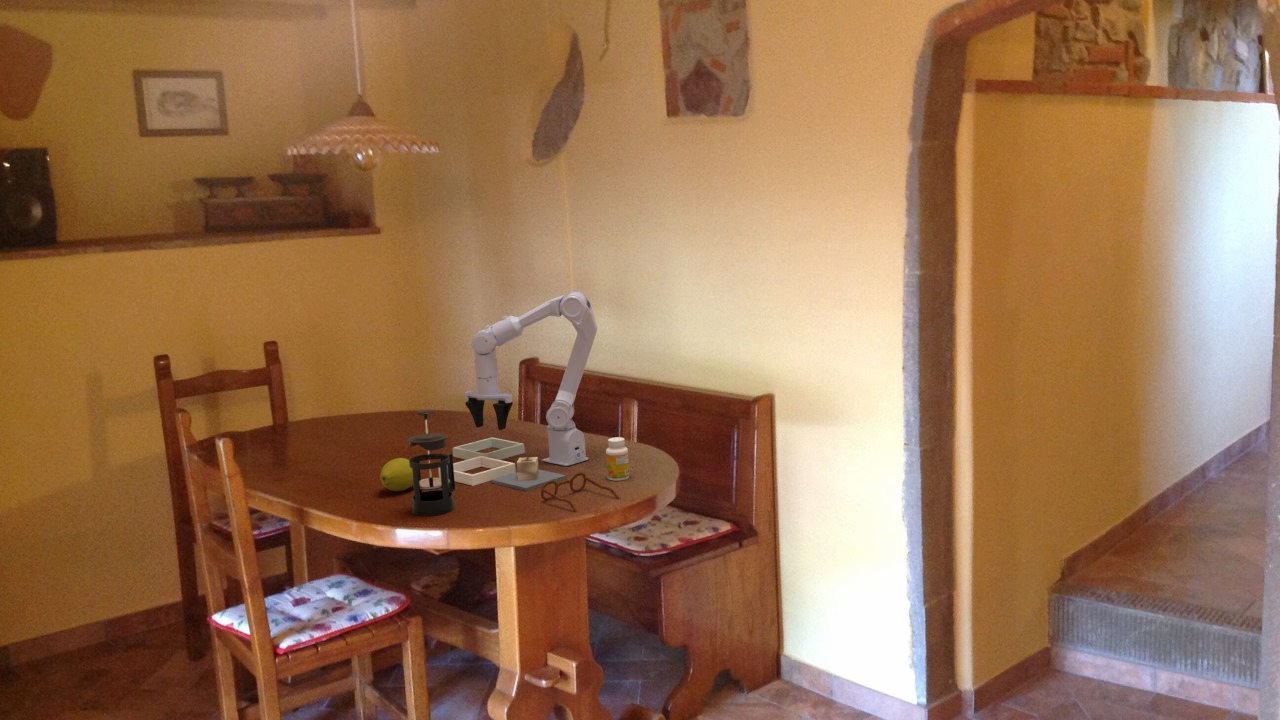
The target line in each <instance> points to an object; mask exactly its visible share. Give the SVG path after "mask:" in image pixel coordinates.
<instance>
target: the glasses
mask: <svg viewBox="0 0 1280 720" xmlns="http://www.w3.org/2000/svg"><path fill="white" fill-rule="evenodd" d="M579 476H581V477H583V481H582V484H581V486H579V488H577V489H574V486H573V483H574V480H575V479H576V478H577V477H579ZM587 482H589V483H590V484H593V485H594V486H596V487H598V488H600V489H602V490H607V491H610V493H611V494H612V495H613V496H614V497H615V498H616V500H621V497H620V496H619V495H618V494H617V492H615V490H614V489H613V488H611V487H608V486H605V485H602V484H600V483H598V482H597V481H595V480H593V479H592V478H589V477H588V476H586V474H585V473H583V472H577V473H575V474H574V475H573V476H572V477H571V478H570V480H568V479H567V480H566V479H565V480H561V481H559V482H555V481H548V482H546V483H545V484H544V485H543V486H541V490H540V497H541V499H542V500H544V501H546V500H547V501H551V500H553V499H556V500H557V501H559V502H565V503H567V504H569V507H570V508H571V509H572V510H573V512H575V513H578V512H579V511H578V510H577V508H576V507H575V505H574V504H573V503H572V501H571V500H570V499H568V498H563V497H559V496H558V490H559V487H560V486H562V485H565V484H569V489H570V491H572V492H573V493H578V492H581V491H582V490H583V489H584V488H585V486H586V484H587ZM551 484H553V485H554V492H553V493H552V492H551V491H549V490H547V489H546V487H547V486H548V485H551ZM580 490H581V491H580ZM577 491H578V492H577ZM544 493H545V494H547V495H549V497H545V495H544ZM550 499H551V500H550Z"/></svg>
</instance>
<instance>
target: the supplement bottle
mask: <svg viewBox="0 0 1280 720" xmlns="http://www.w3.org/2000/svg"><path fill="white" fill-rule="evenodd" d="M625 444H626V442H625V438H624V437H621V436H620V437H617V436H615V437H611V438H608V440H607V445H608V447H607V448H606V450H605V459H606V476H607V480H610V481H613V482H614V481H617V482H620V481H625V480H628V479H629V478H630V465H629V464H630V461H629V450H628V449H629V448H627V447H626V446H625Z"/></svg>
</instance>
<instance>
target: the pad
mask: <svg viewBox="0 0 1280 720" xmlns="http://www.w3.org/2000/svg"><path fill="white" fill-rule="evenodd" d="M566 479H567V475H566V474H561V473H557V472H553V471H547V470H544V469H539V475H538V478H537V480H518V471H516V472H515V473H512V474H508V475H505V476H501V477H498V478H495V479H491V481H490V483H491V484H494V485H499V486H503V487H507V488H512V489H516V490H520V491H523V492H527V491H531V490H534V489H537V488H540V487H541V488H542V487H543V485H544V484H545V483H546V482H548V481H555V482H556V483H558V482H561V481H564V480H566Z"/></svg>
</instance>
